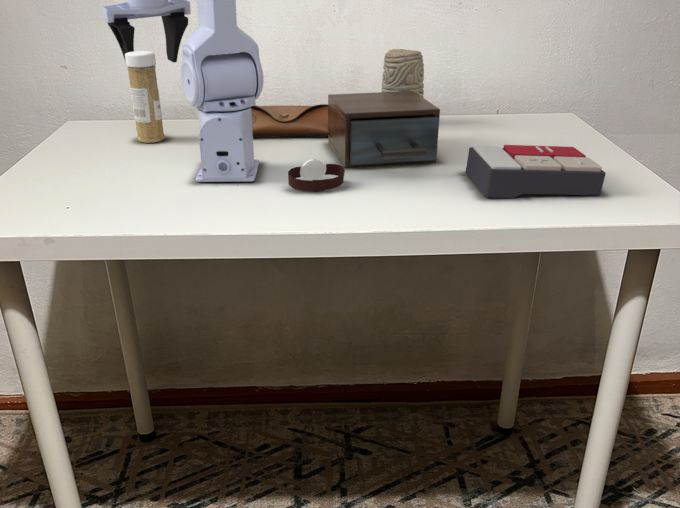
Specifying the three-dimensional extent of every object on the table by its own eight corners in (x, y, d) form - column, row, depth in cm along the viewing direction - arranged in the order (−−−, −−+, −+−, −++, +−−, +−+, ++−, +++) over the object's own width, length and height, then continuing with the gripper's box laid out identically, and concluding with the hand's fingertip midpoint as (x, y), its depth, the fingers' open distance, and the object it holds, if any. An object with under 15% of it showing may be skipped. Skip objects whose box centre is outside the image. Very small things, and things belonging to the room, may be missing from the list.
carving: (373, 122, 125) (375, 49, 119) (410, 117, 128) (413, 46, 121) (391, 129, 120) (394, 54, 114) (428, 125, 123) (433, 51, 116)
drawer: (447, 170, 96) (451, 127, 93) (359, 175, 95) (360, 131, 92) (412, 138, 111) (414, 100, 108) (335, 142, 110) (335, 104, 107)
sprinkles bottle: (170, 140, 115) (160, 52, 108) (146, 145, 113) (134, 55, 106) (155, 135, 118) (144, 49, 111) (131, 140, 116) (118, 52, 109)
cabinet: (436, 162, 103) (440, 109, 99) (345, 168, 101) (345, 113, 97) (410, 139, 114) (413, 90, 110) (328, 144, 112) (328, 94, 108)
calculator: (608, 167, 87) (490, 163, 86) (600, 200, 90) (485, 197, 88) (576, 144, 97) (469, 141, 96) (569, 175, 99) (464, 172, 98)
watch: (338, 179, 96) (338, 152, 94) (349, 189, 92) (350, 161, 91) (284, 184, 94) (283, 157, 92) (293, 195, 90) (292, 167, 89)
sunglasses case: (230, 136, 114) (229, 96, 114) (234, 149, 122) (233, 110, 122) (340, 135, 115) (339, 94, 115) (338, 147, 122) (337, 109, 122)
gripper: (173, -35, 115) (178, 51, 124) (89, -29, 108) (100, 62, 116) (195, -26, 111) (198, 63, 120) (108, -20, 104) (119, 74, 112)
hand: (151, 63), depth 118 cm, fingers open, 7 cm apart
